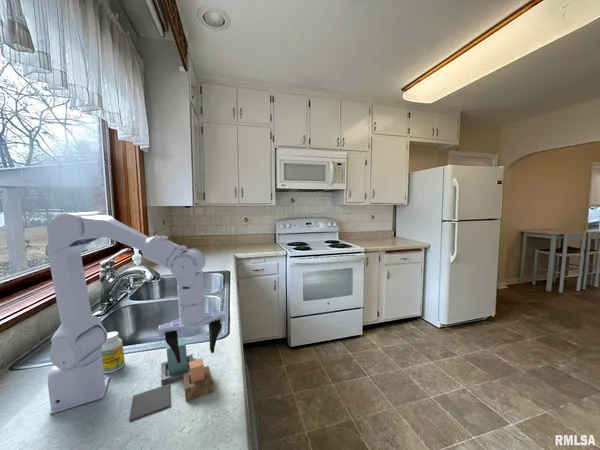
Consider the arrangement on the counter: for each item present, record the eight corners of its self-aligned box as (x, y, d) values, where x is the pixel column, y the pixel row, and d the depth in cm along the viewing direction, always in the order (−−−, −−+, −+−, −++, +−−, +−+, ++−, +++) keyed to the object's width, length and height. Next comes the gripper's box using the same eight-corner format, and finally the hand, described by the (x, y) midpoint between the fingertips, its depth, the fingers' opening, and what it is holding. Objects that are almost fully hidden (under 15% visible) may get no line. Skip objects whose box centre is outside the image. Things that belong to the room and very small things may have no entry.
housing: (185, 401, 58) (184, 389, 58) (184, 385, 63) (183, 373, 63) (213, 391, 61) (212, 379, 60) (209, 376, 66) (208, 365, 66)
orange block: (191, 384, 60) (190, 368, 59) (190, 377, 62) (189, 361, 62) (205, 380, 61) (203, 364, 61) (203, 373, 64) (202, 358, 63)
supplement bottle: (125, 359, 75) (121, 328, 74) (124, 368, 70) (121, 336, 69) (102, 366, 72) (98, 333, 71) (100, 376, 67) (96, 342, 66)
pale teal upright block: (169, 378, 66) (166, 349, 65) (168, 368, 70) (166, 341, 69) (187, 372, 68) (185, 344, 67) (186, 363, 72) (184, 336, 71)
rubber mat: (129, 421, 53) (129, 419, 53) (133, 397, 60) (133, 395, 60) (170, 406, 57) (170, 405, 57) (169, 385, 63) (169, 383, 63)
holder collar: (161, 385, 64) (160, 380, 63) (161, 367, 71) (161, 363, 70) (195, 373, 67) (195, 369, 67) (192, 358, 74) (192, 354, 74)
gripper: (156, 315, 53) (161, 376, 54) (226, 300, 60) (230, 354, 61) (157, 303, 59) (161, 358, 60) (220, 291, 66) (223, 341, 67)
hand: (195, 355), depth 61 cm, fingers open, 7 cm apart
